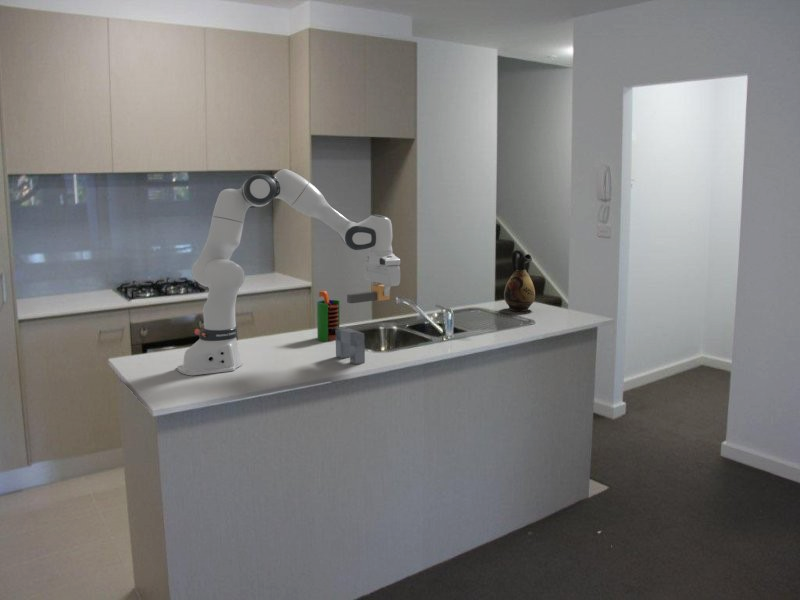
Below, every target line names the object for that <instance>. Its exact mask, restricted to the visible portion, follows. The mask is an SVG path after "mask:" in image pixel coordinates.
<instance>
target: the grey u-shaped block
mask: <svg viewBox="0 0 800 600" xmlns="http://www.w3.org/2000/svg"><path fill="white" fill-rule="evenodd" d="M365 347H366V345H365V333H364V332H362V331H358V330H356V329H352V328H349V327H347V326H341V327H340V326H339V328H336V340H335V356H337V358H339V359H341V358H342V359H348V358H349V363H351V364H353V365H359V364H365V363H366V362H365V361H366V357H365V355H366V352H365V351H366V349H365Z"/></svg>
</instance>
